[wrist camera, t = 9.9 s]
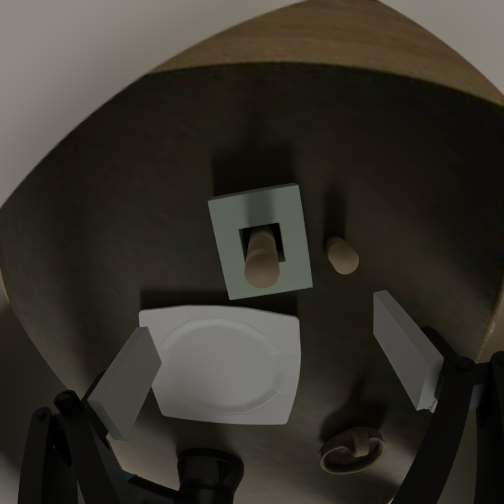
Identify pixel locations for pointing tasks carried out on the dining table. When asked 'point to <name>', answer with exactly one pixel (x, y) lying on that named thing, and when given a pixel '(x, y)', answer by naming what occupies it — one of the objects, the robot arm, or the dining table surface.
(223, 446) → the dining table surface
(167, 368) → the plate
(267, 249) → the long dowel
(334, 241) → the short dowel
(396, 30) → the dining table surface
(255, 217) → the hole block
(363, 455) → the brown mug
